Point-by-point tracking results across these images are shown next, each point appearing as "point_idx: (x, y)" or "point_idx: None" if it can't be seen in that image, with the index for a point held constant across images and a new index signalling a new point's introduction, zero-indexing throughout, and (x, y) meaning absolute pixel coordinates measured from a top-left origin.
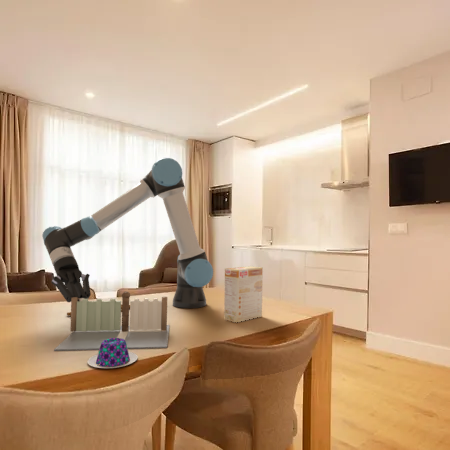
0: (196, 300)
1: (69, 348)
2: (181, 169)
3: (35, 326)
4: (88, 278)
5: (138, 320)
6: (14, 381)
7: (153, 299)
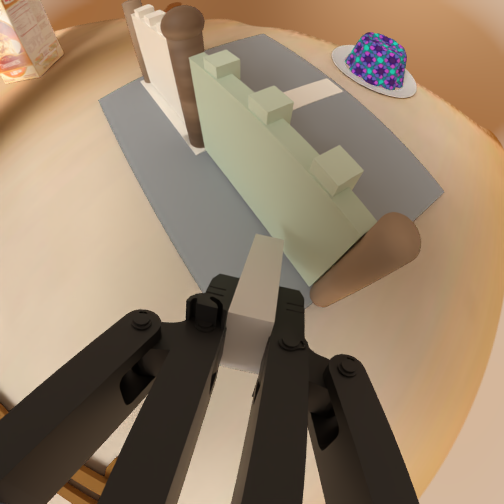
0: None
1: (417, 163)
2: None
3: None
4: None
5: None
6: (499, 149)
7: (153, 7)
